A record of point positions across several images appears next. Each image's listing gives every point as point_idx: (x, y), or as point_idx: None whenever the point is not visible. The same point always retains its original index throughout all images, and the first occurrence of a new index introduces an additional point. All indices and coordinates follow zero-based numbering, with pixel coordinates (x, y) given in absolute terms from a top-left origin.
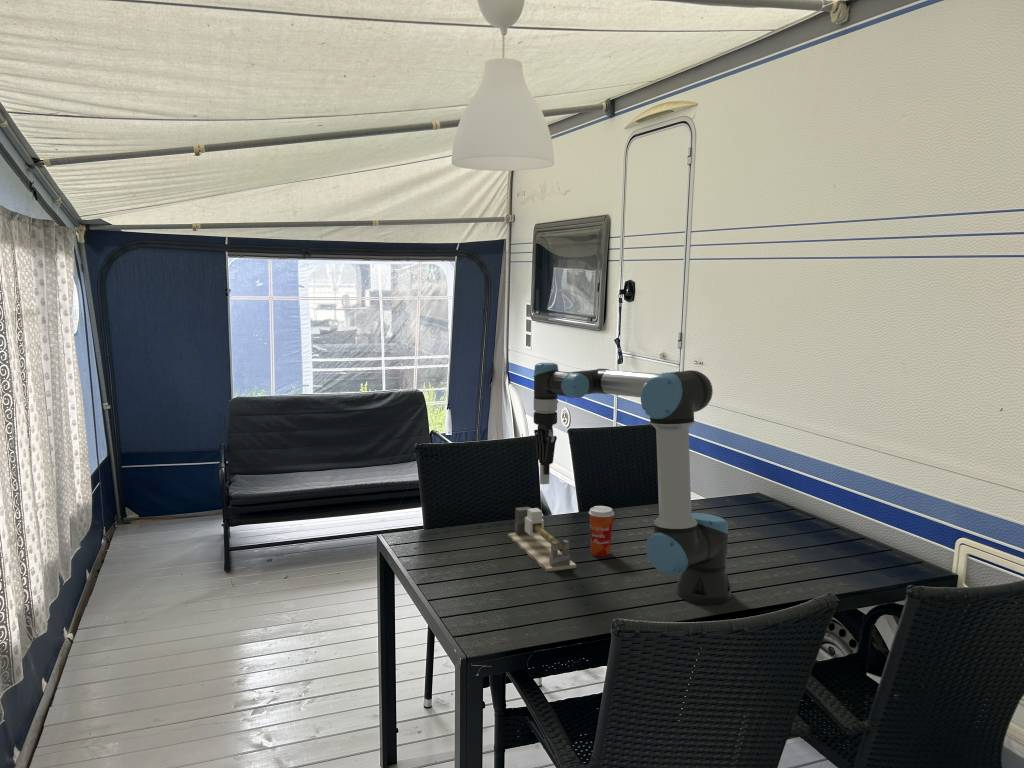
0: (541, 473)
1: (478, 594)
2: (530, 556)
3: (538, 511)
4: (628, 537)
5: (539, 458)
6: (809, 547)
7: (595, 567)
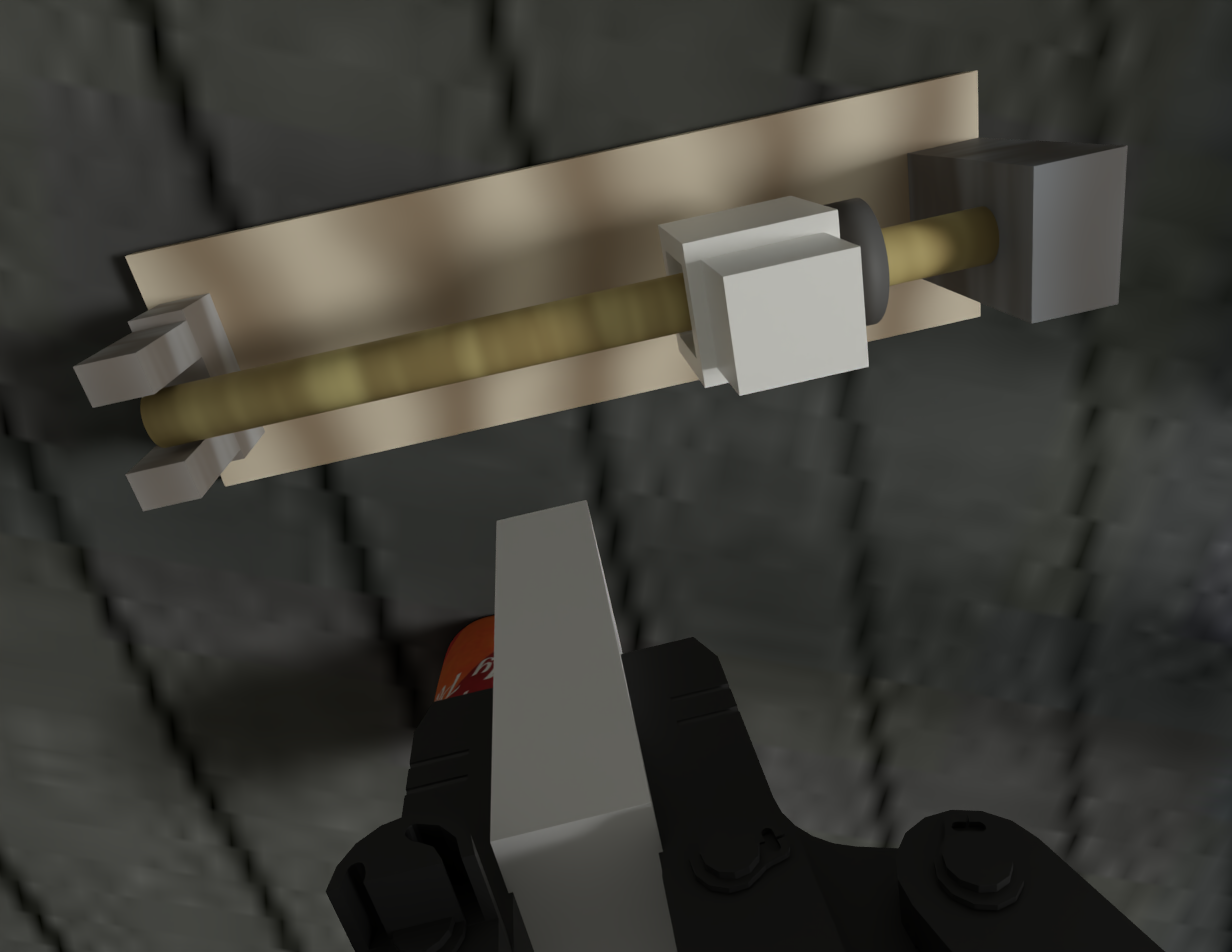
0: (507, 647)
1: None
2: (463, 181)
3: (738, 357)
4: None
5: (800, 941)
6: None
7: (247, 594)
